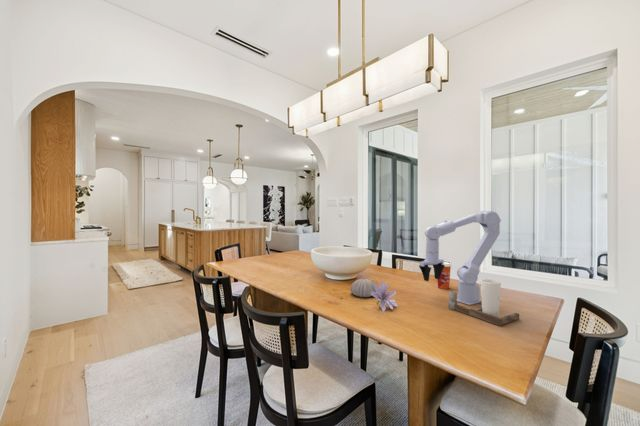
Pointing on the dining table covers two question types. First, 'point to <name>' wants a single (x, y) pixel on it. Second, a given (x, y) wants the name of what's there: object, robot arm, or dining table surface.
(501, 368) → the dining table surface
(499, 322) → the sliding frame
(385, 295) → the water lily
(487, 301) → the drinking glass
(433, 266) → the robot arm
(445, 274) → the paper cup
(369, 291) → the sea urchin shell
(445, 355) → the dining table surface
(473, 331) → the dining table surface
